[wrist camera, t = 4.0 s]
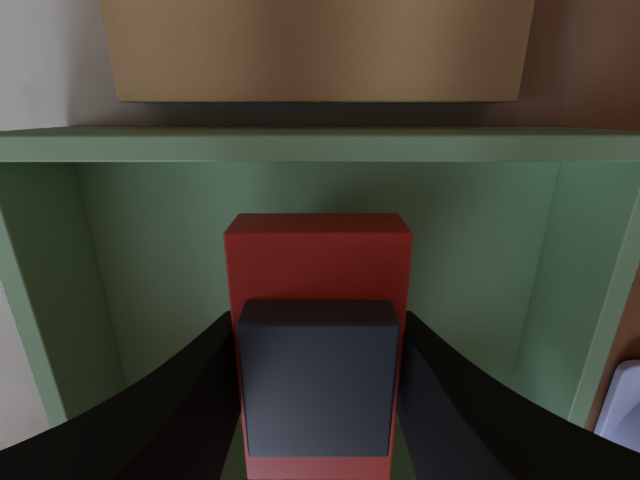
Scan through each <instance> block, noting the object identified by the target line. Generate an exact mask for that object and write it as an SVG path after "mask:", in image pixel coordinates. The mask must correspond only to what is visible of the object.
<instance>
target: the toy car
mask: <svg viewBox="0 0 640 480" xmlns="http://www.w3.org/2000/svg"><path fill="white" fill-rule="evenodd" d="M223 238H224V248H225V258H226V268H227V279H228V289H229V299H230V309H231V319H232V329H233V339H234V349H235V359H236V369H237V379H238V390H239V400H240V410H241V421H242V431H243V442H244V452H245V462H246V472H247V478H248V479H300V480H388V479H390V477H391V467H392V456H393V446H394V435H395V425H396V414H397V402H398V391H399V381H400V370H401V360H402V349H403V338H404V329H405V319H406V308H407V298H408V287H409V276H410V266H411V255H412V245H413V232H412V231H411V230H410V228H409V227H408V226H407V224H406V223H405V221H404V220H403V219H402V217H401V216H400V215H399V214H398V213H239V214H238V215H237V216H236V218H235V219H234V220H233V221H232V223H231V224H230V225H229V227H228V228H227V229H226V230H225V232H224V234H223Z"/></svg>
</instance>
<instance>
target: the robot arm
mask: <svg viewBox="0 0 640 480" xmlns="http://www.w3.org/2000/svg"><path fill="white" fill-rule="evenodd" d="M240 413H241V410H240V400H239V390H238V379H237V369H236V359H235V349H234V339H233V329H232V319H231V311H226V312H225V313H224V314H222V315H221V316H220V317H219V318H218V319H217V320H216V321H214V322H213V323H212V324H211V325H210V326H209V327H208V328H207V329H205V330H204V331H203V332H202V333H201V334H200V335H198V336H197V337H196V338H195V339H194V340H193V341H191V342H190V343H189V344H188V345H187V346H185V347H184V348H183V349H182V350H180V351H179V352H178V353H176V354H175V355H174V356H172V357H171V358H170V359H169V360H167V361H166V362H165V363H163V364H162V365H161V366H159V367H158V368H157V369H155V370H154V371H152V372H151V373H149V374H148V375H147V376H145V377H144V378H142V379H140V380H139V381H137V382H136V383H134V384H133V385H131V386H129V387H128V388H126V389H125V390H123V391H121V392H120V393H118V394H116V395H114V396H113V397H111V398H109V399H107V400H105V401H104V402H102V403H100V404H98V405H96V406H95V407H93V408H91V409H89V410H87V411H86V412H84V413H82V414H80V415H78V416H76V417H74V418H72V419H70V420H68V421H66V422H64V423H62V424H60V425H58V426H56V427H54V428H51V429H49V430H47V431H45V432H43V433H40V434H38V435H36V436H34V437H32V438H30V439H27V440H25V441H23V442H20V443H18V444H16V445H13V446H11V447H8V448H6V449H3V450H1V451H0V480H220V478H221V474H222V471H223V467H224V464H225V461H226V458H227V455H228V451H229V448H230V445H231V442H232V439H233V436H234V432H235V429H236V426H237V423H238V420H239V416H240ZM397 416H398V419H399V422H400V426H401V429H402V432H403V435H404V439H405V442H406V445H407V448H408V452H409V455H410V458H411V461H412V465H413V468H414V472H415V475H416V479H417V480H640V360H628V361H624V362H622V363H621V364H619V365H618V366H617V368H616V370H615V373H614V376H613V379H612V381H611V384H610V387H609V390H608V393H607V396H606V399H605V402H604V404H603V407H602V410H601V413H600V416H599V419H598V422H597V425H596V427H595V430H594V433H593V432H590V431H588V430H586V429H584V428H582V427H580V426H578V425H576V424H574V423H571V422H569V421H567V420H565V419H563V418H561V417H559V416H557V415H556V414H554V413H552V412H550V411H548V410H546V409H545V408H543V407H541V406H539V405H537V404H535V403H534V402H532V401H530V400H528V399H526V398H525V397H523V396H521V395H520V394H518V393H516V392H515V391H513V390H511V389H510V388H508V387H507V386H505V385H504V384H502V383H501V382H499V381H497V380H496V379H494V378H493V377H491V376H490V375H488V374H487V373H486V372H484V371H483V370H481V369H480V368H479V367H477V366H476V365H475V364H473V363H472V362H471V361H469V360H468V359H467V358H465V357H464V356H463V355H461V354H460V353H459V352H458V351H456V350H455V349H454V348H453V347H451V346H450V345H449V344H448V343H447V342H446V341H444V340H443V339H442V338H441V337H440V336H439V335H437V334H436V333H435V332H434V331H433V330H432V329H431V328H430V327H428V326H427V325H426V324H425V323H424V322H423V321H422V320H421V319H420V318H418V317H417V316H416V315H415V314H414V313H413V312H411V311H406V319H405V329H404V338H403V349H402V360H401V370H400V381H399V391H398V402H397Z"/></svg>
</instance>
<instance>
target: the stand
mask: <svg viewBox="0 0 640 480" xmlns="http://www.w3.org/2000/svg"><path fill="white" fill-rule="evenodd" d="M535 2H536V0H100V4H101V10H102V15H103V21H104V26H105V32H106V38H107V43H108V49H109V54H110V60H111V65H112V71H113V76H114V82H115V87H116V93H117V98H118V101H119V102H126V103H510V102H517V101H518V98H519V92H520V86H521V81H522V75H523V69H524V64H525V58H526V53H527V47H528V41H529V36H530V30H531V24H532V19H533V13H534V7H535Z"/></svg>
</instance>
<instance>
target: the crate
mask: <svg viewBox="0 0 640 480" xmlns="http://www.w3.org/2000/svg"><path fill="white" fill-rule="evenodd" d="M239 213H398V214H399V215H400V216H401V217H402V219H403V220H404V221H405V223H406V224H407V226H408V227H409V228H410V230H411V231H412V232H413V245H412V255H411V266H410V276H409V287H408V298H407V308H406V311H411V312H413V313H414V314H415V315H416V316H417V317H418V318H420V319H421V320H422V321H423V322H424V323H425V324H426V325H427V326H428V327H430V328H431V329H432V330H433V331H434V332H435V333H436V334H437V335H439V336H440V337H441V338H442V339H443V340H444V341H446V342H447V343H448V344H449V345H450V346H451V347H453V348H454V349H455V350H456V351H458V352H459V353H460V354H461V355H463V356H464V357H465V358H467V359H468V360H469V361H471V362H472V363H473V364H475V365H476V366H477V367H479V368H480V369H481V370H483V371H484V372H486V373H487V374H488V375H490V376H491V377H493V378H494V379H496V380H497V381H499V382H501V383H502V384H504V385H505V386H507V387H508V388H510V389H511V390H513V391H515V392H516V393H518V394H520V395H521V396H523V397H525V398H526V399H528V400H530V401H532V402H534V403H535V404H537V405H539V406H541V407H543V408H545V409H546V410H548V411H550V412H552V413H554V414H556V415H557V416H559V417H561V418H563V419H565V420H567V421H569V422H571V423H574V424H576V425H578V426H580V427H582V428H585V425H586V422H587V419H588V416H589V413H590V410H591V407H592V404H593V401H594V398H595V395H596V392H597V389H598V386H599V383H600V380H601V377H602V374H603V371H604V368H605V365H606V362H607V359H608V356H609V353H610V350H611V347H612V344H613V341H614V338H615V335H616V332H617V329H618V326H619V323H620V320H621V317H622V314H623V311H624V308H625V305H626V302H627V299H628V296H629V293H630V290H631V287H632V284H633V281H634V278H635V275H636V272H637V269H638V266H639V263H640V132H638V131H625V130H611V129H598V128H583V127H53V128H39V129H25V130H12V131H0V279H1V282H2V285H3V288H4V291H5V293H6V296H7V299H8V302H9V305H10V308H11V311H12V314H13V317H14V320H15V323H16V326H17V329H18V332H19V335H20V338H21V341H22V343H23V346H24V349H25V352H26V355H27V358H28V361H29V364H30V367H31V370H32V373H33V376H34V379H35V382H36V385H37V388H38V391H39V394H40V396H41V399H42V402H43V405H44V408H45V411H46V414H47V417H48V420H49V423H50V426H51V428H54V427H56V426H58V425H60V424H62V423H64V422H66V421H68V420H70V419H72V418H74V417H76V416H78V415H80V414H82V413H84V412H86V411H87V410H89V409H91V408H93V407H95V406H96V405H98V404H100V403H102V402H104V401H105V400H107V399H109V398H111V397H113V396H114V395H116V394H118V393H120V392H121V391H123V390H125V389H126V388H128V387H129V386H131V385H133V384H134V383H136V382H137V381H139V380H140V379H142V378H144V377H145V376H147V375H148V374H149V373H151V372H152V371H154V370H155V369H157V368H158V367H159V366H161V365H162V364H163V363H165V362H166V361H167V360H169V359H170V358H171V357H172V356H174V355H175V354H176V353H178V352H179V351H180V350H182V349H183V348H184V347H185V346H187V345H188V344H189V343H190V342H191V341H193V340H194V339H195V338H196V337H197V336H198V335H200V334H201V333H202V332H203V331H204V330H205V329H207V328H208V327H209V326H210V325H211V324H212V323H213V322H214V321H216V320H217V319H218V318H219V317H220V316H221V315H222V314H224V313H225V312H226V311H231V309H230V299H229V289H228V279H227V268H226V258H225V248H224V238H223V234H224V232H225V230H226V229H227V228H228V227H229V225H230V224H231V223H232V221H233V220H234V219H235V218H236V216H237V215H238V214H239ZM220 480H300V479H248V478H247V472H246V462H245V452H244V442H243V431H242V421H241V413H240V416H239V420H238V423H237V426H236V429H235V432H234V436H233V439H232V442H231V445H230V448H229V451H228V455H227V458H226V461H225V464H224V467H223V471H222V474H221V478H220ZM388 480H417V479H416V475H415V472H414V468H413V465H412V461H411V458H410V455H409V452H408V448H407V445H406V442H405V439H404V435H403V432H402V429H401V426H400V422H399V419H398V416H397V414H396V425H395V435H394V446H393V456H392V467H391V477H390V479H388Z"/></svg>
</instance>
